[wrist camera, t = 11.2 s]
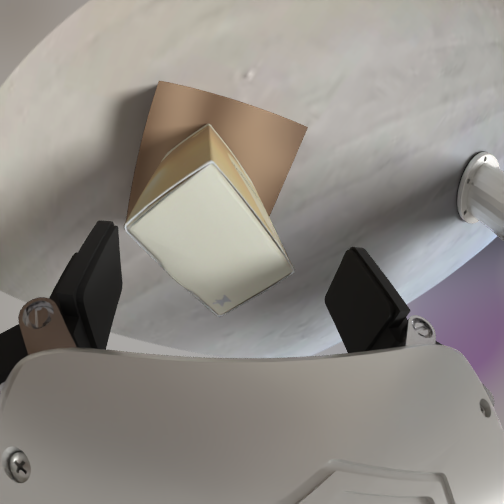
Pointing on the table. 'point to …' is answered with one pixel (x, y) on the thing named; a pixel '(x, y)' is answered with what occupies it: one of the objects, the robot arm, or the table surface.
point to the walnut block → (228, 128)
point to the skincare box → (209, 225)
